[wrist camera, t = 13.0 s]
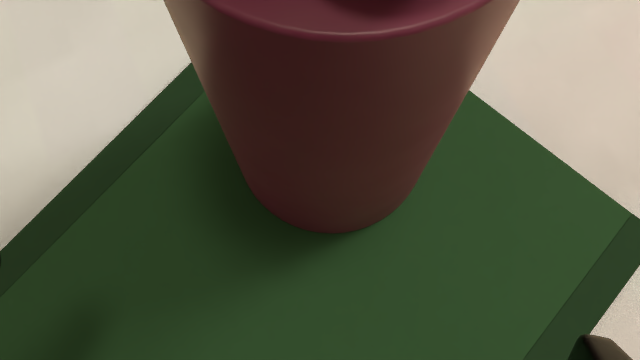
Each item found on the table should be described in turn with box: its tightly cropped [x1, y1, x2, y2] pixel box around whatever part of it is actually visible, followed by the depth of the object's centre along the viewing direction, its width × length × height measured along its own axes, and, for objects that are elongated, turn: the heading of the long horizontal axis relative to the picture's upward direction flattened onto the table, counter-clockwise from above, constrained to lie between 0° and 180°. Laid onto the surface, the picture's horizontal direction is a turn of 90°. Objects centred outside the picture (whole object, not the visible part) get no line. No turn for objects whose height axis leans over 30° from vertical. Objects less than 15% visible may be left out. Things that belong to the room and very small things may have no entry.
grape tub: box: [164, 0, 520, 233], centre depth 11 cm, size 6×6×14 cm
